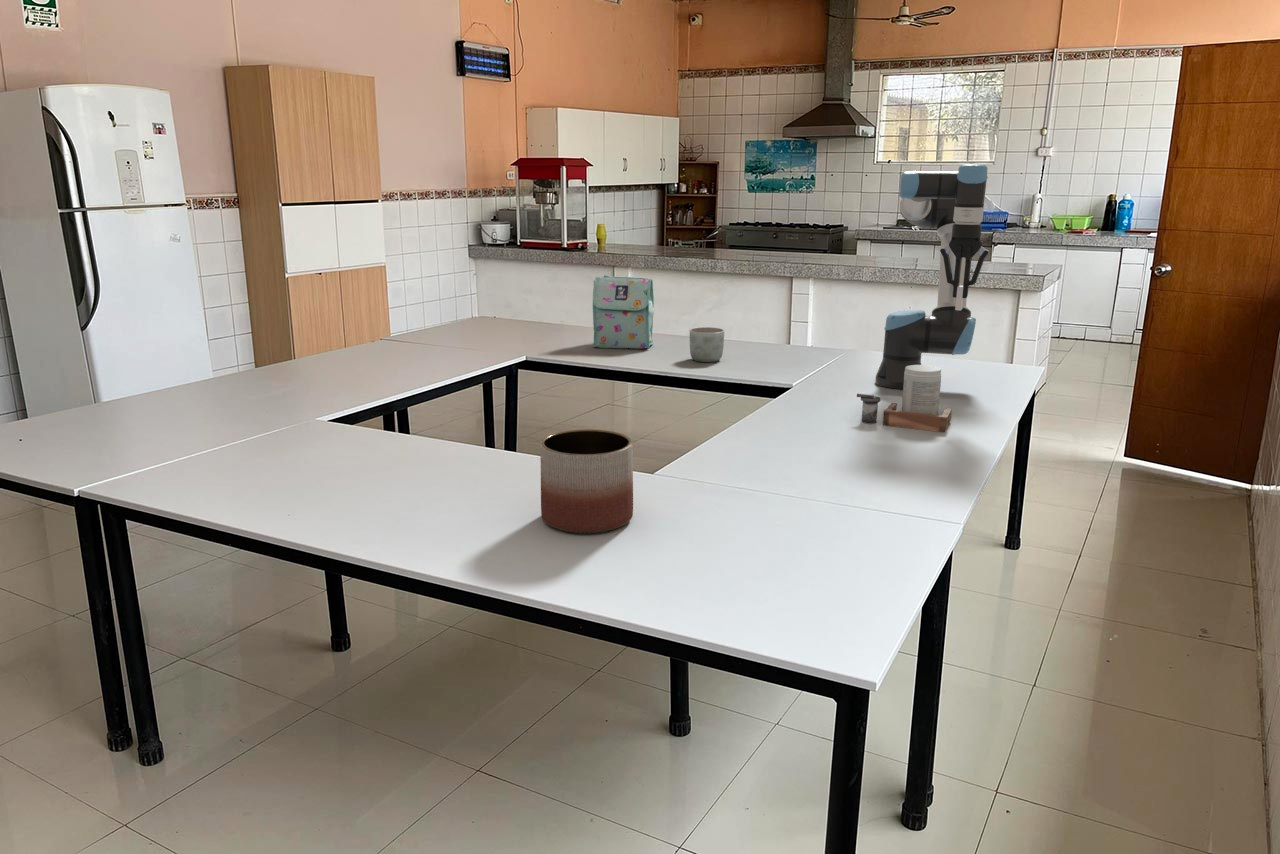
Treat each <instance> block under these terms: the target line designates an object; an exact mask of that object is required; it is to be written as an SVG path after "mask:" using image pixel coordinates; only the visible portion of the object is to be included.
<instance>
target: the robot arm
mask: <svg viewBox="0 0 1280 854" xmlns="http://www.w3.org/2000/svg"><path fill="white" fill-rule="evenodd" d="M988 178H989V177H988V166H987V165H986V164H960V165H959V167H958V170H957V171H924V170H923V171H921V170H919V171H918V170H917V171H916V170H911V171H903V172H902V173H901V174H900V184H899V197H900V198H901V199H900V202H899V212H900V215H901V216H902V218H903V219H904V220H905V221H907V223H909V224H911V225H913V226H916V227H918V228H922V229H930V230H931V229H932V230H933V229H934V230H935V229H936V235H937V236H938V237H939V238H940V239H941V240H940V249H939V251H940V256H939V270H938V271H939V272H938V286H937V287H938V290H937V305H936V307H935V308H933V309H932V311H931V315H927V314H926V311H925V310H921V309H909V310H901V311H899V310H898V311H895V312H892V313H889V314H888V315H887V316H886V319H885V327H884V328H883V329H884V340H883V341H884V342H883V351H882V353H883V354H882V361H881V363H880V365H879V368H878V370H877V372H876V375H875V379H874V383H875V384H876V385H877V386H879V387H885V388H889V389H896V390H897V389H898V390H903V385H904V374H905V373H904V372H905V367H906V366H910V365H922V354H933V355H934V354H937V355H951V356H956V355H957V356H958V355H966V354H969V352H970V349H971V347H972V343H973V342H972V341H973V338H974V334H975V329H976V324H977V323H976V322H977V321H976V320H977V319H976V317H974V316H972V311H971V309H969V308H968V307H967V299H968V294H969V287H971V286H973V285H975V284H976V283H977V282H978V278H979V276H980V272H981V269H982V267H983V265H984V262H985V258H987V256H988V255H989V254H990V250H989V249H986V248H985V247H983V245H982V242H981V239H982V238H981V236H982V222H983V219H984V210H985V209H984V206H985V196H986V188H987V180H988ZM978 252H979V253H978ZM977 253H978V255H979V258H978V261H977V263H976V265H975V268H974V270H973V274H972V277H970V276H971V269H972V260H973V257H974V256H975V255H976V254H977ZM970 278H971V279H970Z"/></svg>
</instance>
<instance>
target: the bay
mask: <svg viewBox="0 0 1280 854" xmlns="http://www.w3.org/2000/svg"><path fill="white" fill-rule="evenodd" d="M897 408H898V402H890V404H889V405H888V406H887V407H886V409H884V410H883V415H882V416H883V417H882V426H887V427H895V428H903V429H904V428H905V429H915V430H921V431H930V432H937V433H938V432H940V433H946V431H947V429H948V427H949V425H950V424H951V421H952V419H951V418H952V408H945V409H944V411H943V413H942V415H940V414H938V415H932V414H923V413H913V412H904V411H902V410H897Z"/></svg>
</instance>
